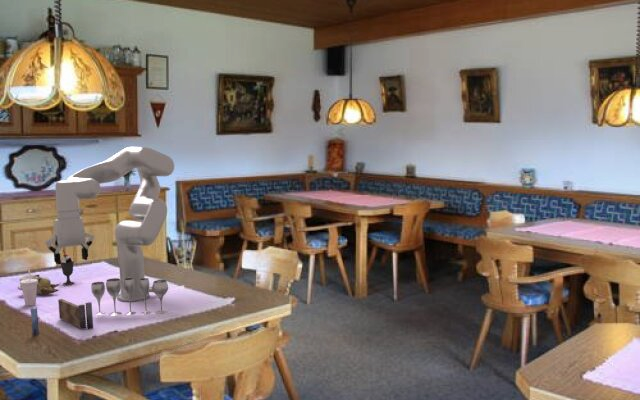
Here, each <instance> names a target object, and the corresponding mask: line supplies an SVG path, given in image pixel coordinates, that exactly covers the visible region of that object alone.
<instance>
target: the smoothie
mask: <svg viewBox="0 0 640 400" xmlns="http://www.w3.org/2000/svg"><path fill="white" fill-rule="evenodd" d="M27 271H28V275H29V279H26V280H22V281H20V280H19V286H20V285H21V287H22V289H21V290H22V295H23V299H24V305H25V307H33V306H36V305H37V294H36V291H37V283H38V280H37V279H31V277H30V275H31V270H30V269H28V270H27ZM35 304H36V305H35Z"/></svg>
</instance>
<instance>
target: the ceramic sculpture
mask: <svg viewBox="0 0 640 400" xmlns="http://www.w3.org/2000/svg"><path fill="white" fill-rule="evenodd" d="M34 275H35V276H34V277H32V279H37V280H38V283H37V291H36V295H51V294H54V293H56V292H57V293H58V291H59V289H58V288H56V287H58V286H60V284H58V283H56V284H54V283H51V282H52V281H51V280H50V279H49V278H48V277H46V276H41V275H40V274H34ZM22 280H25V279H21V278H19V282H20V281H22ZM20 290H22V287H21V289H20Z"/></svg>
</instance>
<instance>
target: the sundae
mask: <svg viewBox="0 0 640 400" xmlns="http://www.w3.org/2000/svg"><path fill="white" fill-rule="evenodd" d="M62 252H63V253H64V254H63V257H62V259H61V264H60V266H61V270H62V271H61V272H62V274H63V275H64V276H65V277H66V281H65V282H63V283H62V285H63V286H71V285H75V281H71V279H70V276H71V275H72V274H73V271H74V262H75V259H72V258H71V256H69V255H68V254H66V253H65V251H64V249H62Z"/></svg>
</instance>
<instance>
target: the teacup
mask: <svg viewBox="0 0 640 400" xmlns="http://www.w3.org/2000/svg"><path fill="white" fill-rule="evenodd" d="M35 275H36V274H30V277H31V279H32V277H34V276H35ZM20 279H25V280H26V279H29V274H26V275H22V276H20ZM17 288H18V289H19V290H22V289H21V285H20V284H19V285H18V286H17Z"/></svg>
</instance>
